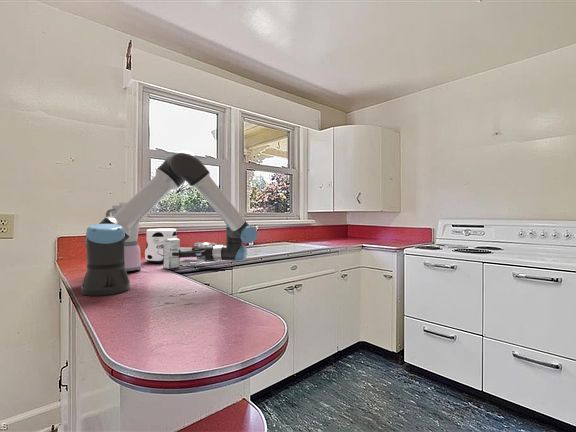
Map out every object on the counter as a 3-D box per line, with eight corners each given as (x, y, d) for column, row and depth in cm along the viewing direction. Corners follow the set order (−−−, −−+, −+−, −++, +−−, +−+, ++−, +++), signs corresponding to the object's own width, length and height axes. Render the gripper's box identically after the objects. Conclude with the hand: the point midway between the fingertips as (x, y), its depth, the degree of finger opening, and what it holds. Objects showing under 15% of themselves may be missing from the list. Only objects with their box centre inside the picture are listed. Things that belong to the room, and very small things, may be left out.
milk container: (168, 264, 166) (168, 230, 166) (137, 264, 169) (137, 230, 169) (184, 259, 184) (183, 228, 183) (156, 259, 186) (156, 228, 186)
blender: (129, 268, 157) (129, 203, 156) (146, 270, 151) (146, 202, 150) (98, 273, 143) (97, 202, 142) (115, 276, 137) (114, 202, 136)
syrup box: (173, 266, 162) (173, 237, 162) (180, 267, 158) (179, 238, 158) (163, 267, 158) (162, 238, 157) (169, 269, 154) (169, 239, 154)
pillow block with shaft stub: (214, 261, 178) (213, 243, 178) (193, 260, 180) (193, 243, 179) (217, 259, 184) (217, 242, 184) (197, 259, 186) (197, 242, 185)
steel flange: (196, 266, 162) (196, 263, 162) (174, 265, 163) (174, 262, 163) (205, 262, 174) (205, 259, 174) (184, 262, 175) (184, 259, 175)
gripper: (205, 264, 143) (160, 263, 146) (222, 256, 168) (184, 255, 171) (205, 248, 143) (160, 247, 146) (222, 242, 168) (184, 241, 170)
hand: (173, 251), depth 158 cm, fingers open, 13 cm apart
